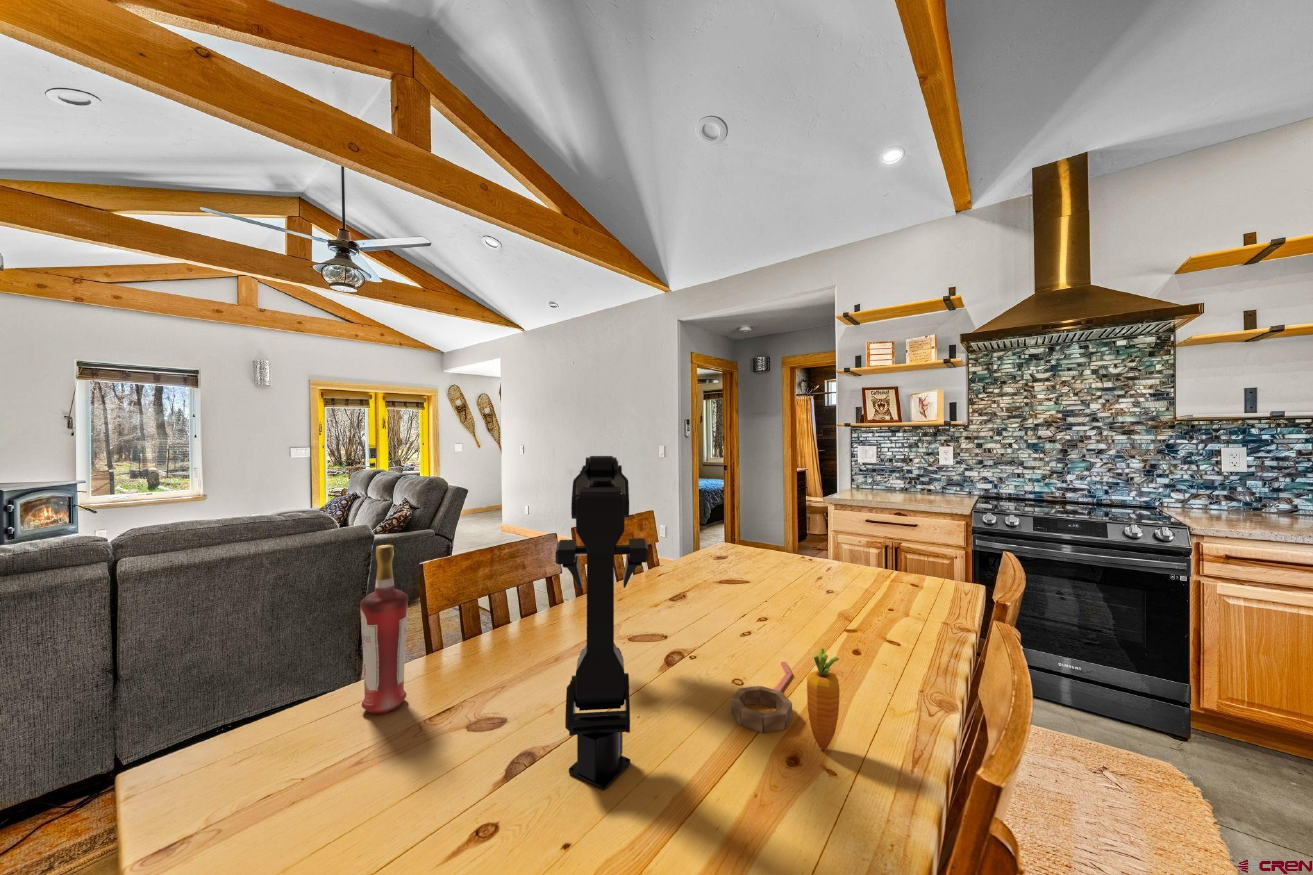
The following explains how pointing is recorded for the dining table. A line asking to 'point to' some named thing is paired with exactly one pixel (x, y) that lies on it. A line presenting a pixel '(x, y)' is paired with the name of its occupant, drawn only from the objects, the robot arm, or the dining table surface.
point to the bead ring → (758, 719)
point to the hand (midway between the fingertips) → (602, 587)
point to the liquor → (384, 639)
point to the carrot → (823, 700)
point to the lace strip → (785, 678)
